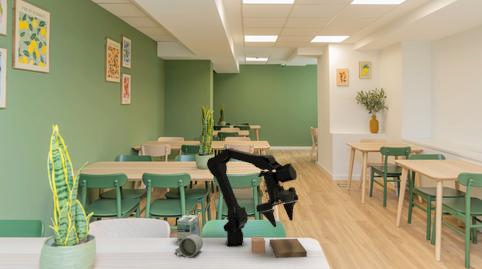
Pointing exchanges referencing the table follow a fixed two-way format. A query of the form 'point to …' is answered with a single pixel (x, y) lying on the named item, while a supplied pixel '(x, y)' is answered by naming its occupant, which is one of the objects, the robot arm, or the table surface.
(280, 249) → the walnut board
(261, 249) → the terracotta cube
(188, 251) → the ceramic mug
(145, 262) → the table surface
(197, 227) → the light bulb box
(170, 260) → the table surface
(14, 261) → the table surface
